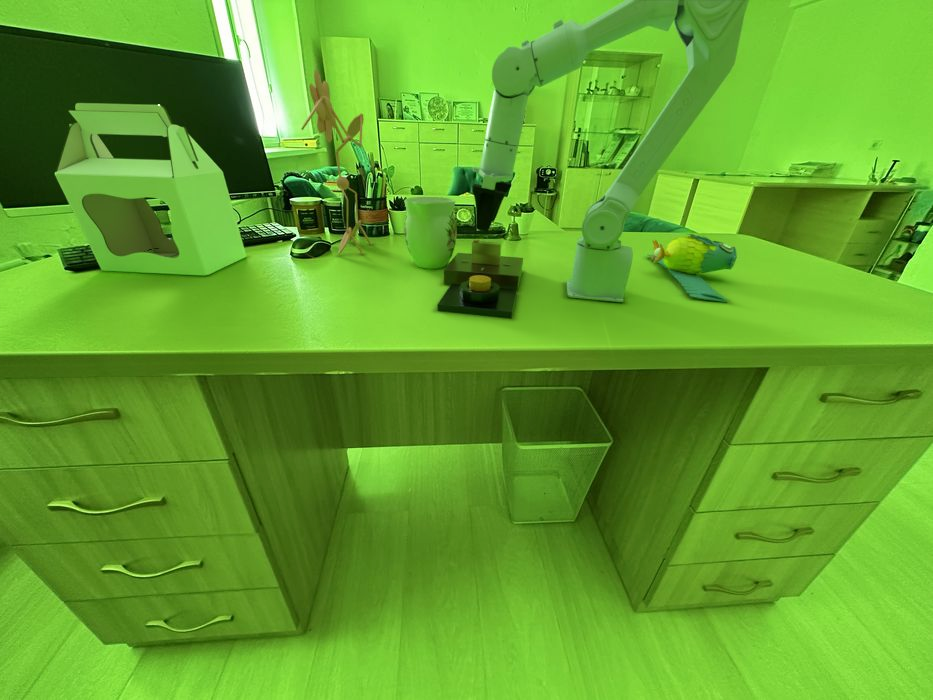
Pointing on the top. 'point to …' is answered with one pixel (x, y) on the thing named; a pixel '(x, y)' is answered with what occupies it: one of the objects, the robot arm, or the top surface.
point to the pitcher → (430, 230)
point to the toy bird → (695, 262)
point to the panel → (484, 271)
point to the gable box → (147, 195)
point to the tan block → (486, 252)
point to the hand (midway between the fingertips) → (485, 225)
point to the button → (480, 283)
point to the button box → (479, 300)
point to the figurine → (324, 124)
